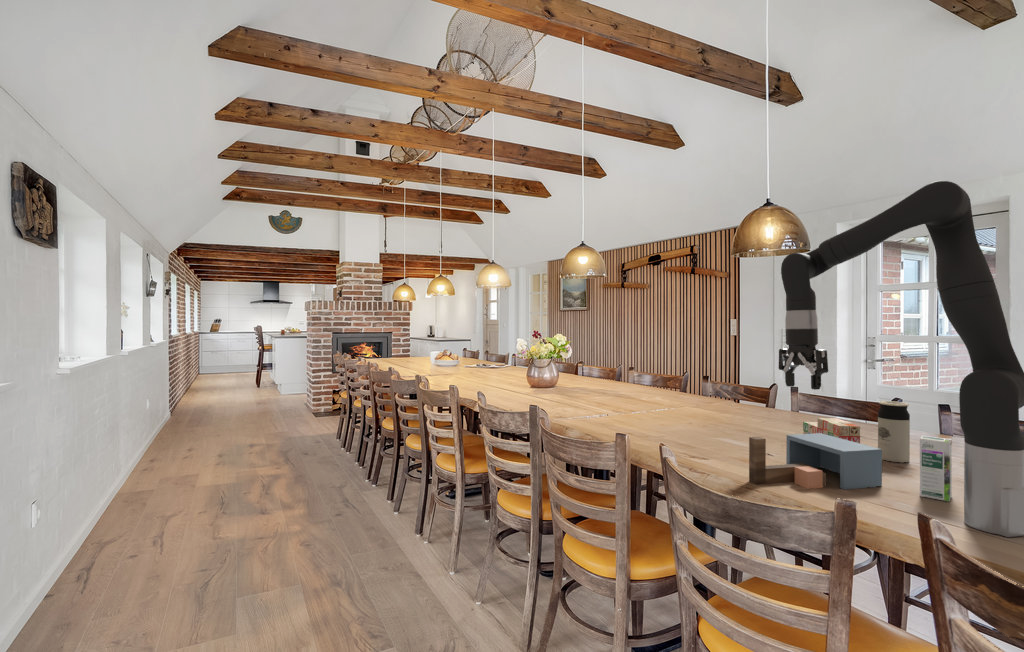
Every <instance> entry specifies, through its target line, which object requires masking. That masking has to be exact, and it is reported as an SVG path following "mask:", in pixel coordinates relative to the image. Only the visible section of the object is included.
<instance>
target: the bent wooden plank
mask: <svg viewBox="0 0 1024 652" xmlns="http://www.w3.org/2000/svg"><path fill="white" fill-rule="evenodd" d="M766 441H767V440H766V438H763V437H762V436H761V437H760V436H750V437H749V439H748V447H749V450H748V455H749V456H748V463H749V465H748V466H749V467H748V482H749V483H751V484H753V485H769V484H780V483H779V482H784V483H795V482H794V481H795V467H803V466H809V465H806V464H804V463H800V464H786V463H785V464H772V465H771V464H769V465H767V464H766V462H767V461H766V459H767V458H766V456H767V455H766V454H767V453H766V452H767V451H766V449H767V447H766V443H767V442H766ZM824 487H827V473H826V472H823V488H824Z"/></svg>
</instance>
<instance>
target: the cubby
mask: <svg viewBox="0 0 1024 652" xmlns="http://www.w3.org/2000/svg"><path fill="white" fill-rule="evenodd" d="M785 454H786V456H785V457H786V463H785V464H800V463H804V464H806V465H809V466H810V467H813V468H822V469H824V468H825V470H827V469H828V471H830V470H831V471H830V472H834V473H835V474H839V489H841V490H844V491H845V490H855V489H866V488H867V487H870V488H877V487H876V486H882V487H883V460H882V449H879V448H878V447H875V446H871V445H867V444H863V443H861V442H860V443H856V442H852V441H848V440H845V439H841V438H837V437H833V436H829V435H825V434H822V433H814V434H804V433H797V434H796V433H795V434H786V453H785ZM867 489H868V488H867Z"/></svg>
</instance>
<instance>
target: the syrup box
mask: <svg viewBox="0 0 1024 652" xmlns="http://www.w3.org/2000/svg"><path fill="white" fill-rule="evenodd" d="M952 443H953V442H952V438H943V437H935V436H928V435H922V436H921V437H920V438H919V496H920V497H922V498H928V499H933V500H939V501H943V502H948V503H949V502H950V500H951V498H952V495H953V494H952V493H953V492H952V488H953V487H952V485H953V484H952V481H953V480H952V478H953V477H952V476H953V475H952V472H953V471H952V469H953V468H952V466H953V463H952V461H953V459H952V452H953V451H952V450H953V449H952Z"/></svg>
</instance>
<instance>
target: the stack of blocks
mask: <svg viewBox="0 0 1024 652" xmlns="http://www.w3.org/2000/svg"><path fill="white" fill-rule="evenodd" d="M802 423H803V424H802V427H803V428H802V430H803V434H814V433H822V434H825V435H829V436H833V437H837V438H841V439H845V440H848V441H852V442H856V443H860V444H861V426H860V425H859V424H858V425H857V424H855V423H853V422H850V421H846V420H843V419H841V418H837V417H833V418H831V417H817V421H803V422H802Z"/></svg>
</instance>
